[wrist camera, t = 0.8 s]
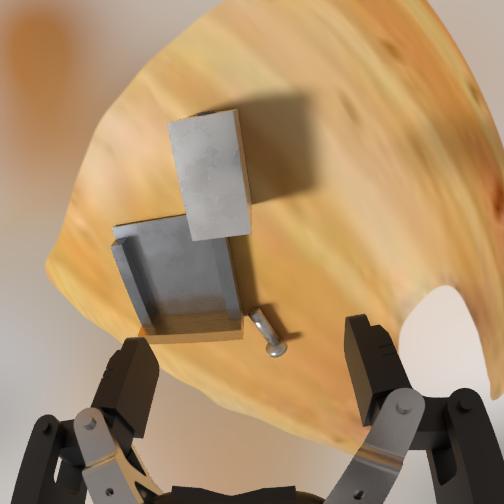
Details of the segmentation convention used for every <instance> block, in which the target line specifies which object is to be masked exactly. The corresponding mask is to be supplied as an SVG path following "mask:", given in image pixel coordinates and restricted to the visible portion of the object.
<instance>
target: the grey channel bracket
mask: <svg viewBox="0 0 504 504" xmlns="http://www.w3.org/2000/svg"><path fill="white" fill-rule="evenodd" d="M112 229H113V232H114V235H115V238H116V240H115V241H114V243H113V244H112V245H111V246H110V247H111V250H112V253H113V255H114V258H115V261H116V264H117V266H118V269H119V271H120V274H121V277H122V279H123V282H124V284H125V287H126V289H127V292H128V294H129V297H130V299H131V301H132V304H133V306H134V308H135V311H136V313H137V315H138V318H139V320H140V322H141V324H142V327H141V329H140V332H139V334H138V337H144V338H145V339H146V340H147V342H148V344H175V343H196V342H213V341H227V340H240V339H243V330H244V315H243V310H242V305H241V300H240V295H239V290H238V285H237V280H236V274H235V269H234V264H233V259H232V254H231V248H230V243H229V238H228V237H223V238H215V239H207V240H199V241H192V237H191V233H190V228H189V224H188V220H187V216H186V215H181V216H175V217H168V218H162V219H156V220H150V221H144V222H138V223H132V224H126V225H121V226H115V227H113V228H112Z"/></svg>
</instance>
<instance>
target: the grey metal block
mask: <svg viewBox="0 0 504 504" xmlns="http://www.w3.org/2000/svg"><path fill="white" fill-rule="evenodd" d="M196 114H197V116H192V117H187V118H183V119H180V120H177V121H173V122H170V123H167V125H168V131H169V136H170V141H171V146H172V151H173V156H174V161H175V166H176V171H177V175H178V180H179V185H180V189H181V194H182V198H183V203H184V207H185V211H186V216H187V220H188V224H189V228H190V233H191V237H192V241H199V240H207V239H215V238H223V237H231V236H239V235H247V234H252V202H251V195H250V188H249V181H248V174H247V168H246V161H245V154H244V147H243V141H242V134H241V127H240V121H239V114H238V109H232V110H226V111H220V112H215V110H212V111H207V112H201V113H196Z"/></svg>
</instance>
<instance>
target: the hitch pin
mask: <svg viewBox="0 0 504 504" xmlns="http://www.w3.org/2000/svg"><path fill="white" fill-rule="evenodd" d="M248 315H249V317H250V318H251V320H252V321H253V323H254V324H255V325H256V327H257V328H258V330H259V331H260V332H261V334H262V335H263V337H264V338H265V339H266V341H267V342H268V344H267V346H266V351H267V353H268V354H269V355H270V356H271V357H274V358H275V357H279V356H281V355H283V354H284V353H285V352H286V350H287V347H288V346H287V343H286V342H285V340H284V339H283V338H280V337H278V335H277V334H276V332H275V331H274V329H273V328H272V326H271V325H270V323H269V322H268V320H267V319H266V317H265V316H264V314H263V313H262V311H261V310H260V308H258V307H256V308H253V309H252V310H250V312H249V314H248Z"/></svg>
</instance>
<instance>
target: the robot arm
mask: <svg viewBox="0 0 504 504" xmlns="http://www.w3.org/2000/svg"><path fill="white" fill-rule="evenodd" d="M344 353H345V358H346V362H347V366H348V369H349V373H350V377H351V380H352V384H353V388H354V392H355V396H356V400H357V404H358V408H359V412H360V416H361V420H362V424H363V427H365V426H369V425H371V427H372V428H371V430H370V432H369V434H368V435H367V437H366V439H365V441H364V443H363V444H362V446H361V448H359V450H358V451H357V453H356V454H355V456H354V457H353V459H352V461H351V462H350V464H349V465H348V467H347V469H346V470H345V472H344V473H343V475H342V477H341V478H340V480H339V481H338V483H337V484H336V486H335V487H334V489H333V490H332V491H331V493H330V495H329V496H328V497H327V499H326V500H325V499H323V498H321V497H319V496H316V495H313V494H310V493H306V492H299V491H296V488H295V486H288V487H276V488H262V489H259V490H256V491H251V492H247V493H243V494H238V495H234V496H229V495H224V494H220V493H216V492H213V491H209V490H205V489H202V488H192V487H180V486H172V492H168V493H163V491H162V490H161V489H160V488H159V486H158V485H157V484H156V483H155V482H154V481H153V480H152V478H151V477H150V475H149V473H148V471H147V470H146V468H145V466H144V465H143V462H142V461H141V459H140V457H139V455H138V453H137V451H136V449H135V447H134V446H133V444H132V441H133V437H134V438H143V437H144V433H145V428H146V424H147V420H148V416H149V412H150V408H151V403H152V400H153V396H154V392H155V388H156V384H157V380H158V377H159V364H158V361H157V359H156V357H155V355H154V353H153V351H152V349H151V348H150V346H149V344H148V342H147V340H146V339H145V338H144V337H134V338H126V339H125V341H124V344H123V346H122V348H121V350H117V351H116V352H115V353H114V355H113V356H112V357H111V358H110V360H109V362H108V364H107V367H106V370H105V372H104V374H103V378H102V379H101V382H100V384H99V387H98V389H97V392H96V394H95V397H94V400H93V402H92V405H91V407H90V408H86V409H84V410H82V411H81V412H80V413H78V414H77V416H76V418H75V419H73V420H67V421H61V422H59V421H58V420H57V419H56V418H55V417H54V416H53V415H44V416H42V417H40V418H39V419H38V420H37V422H36V423H35V425H34V428H33V430H32V433H31V436H30V439H29V442H28V445H27V448H26V451H25V454H24V457H23V460H22V464H21V467H20V470H19V474H18V477H17V481H16V484H15V488H14V492H13V496H12V500H11V504H85V499H86V494H87V489H88V491H89V493H90V496H91V498H92V501H93V503H94V504H383V502H384V501H385V498H386V497H387V495H388V494H389V492H390V490H391V488H392V486H393V484H394V482H395V480H396V478H397V477H398V475H399V472H400V470H401V468H402V465H403V460H404V458H405V456H406V454H407V451H408V450H426V453H427V457H428V461H429V466H430V470H431V475H432V480H433V485H434V491H435V496H436V502H437V504H504V460H503V457H502V454H501V451H500V448H499V444H498V441H497V438H496V436H495V433H494V430H493V427H492V424H491V422H490V419H489V416H488V414H487V412H486V409H485V406H484V404H483V401H482V399H481V397H480V395H479V394H478V393H477V392H475V391H474V390H472V389H469V388H461V389H458V390H456V391H454V392H453V393H452V394H451V396H450V397H446V398H432V397H425V396H422V395H421V394H420V393H419V392H417V391H416V390H414V389H413V388H412V386H411V384H410V382H409V380H408V377H407V375H406V373H405V370H404V368H403V365H402V363H401V360H400V358H399V356H398V354H397V351H396V349H395V346H394V345H393V342H392V339H391V337H390V335H389V333H388V332H387V331H386V330H385V329H384V328H383V327H382V326H380V325H375V326H370V323H369V321H368V318H367V316H366V315H365V314H361V315H355V316H349V317H346V319H345V334H344ZM58 457H60V458H61V459H62V461H61V465H60V469H59V473H58V477H57V481H56V483H55V481H54V472H55V469H56V465H57V460H58Z"/></svg>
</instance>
